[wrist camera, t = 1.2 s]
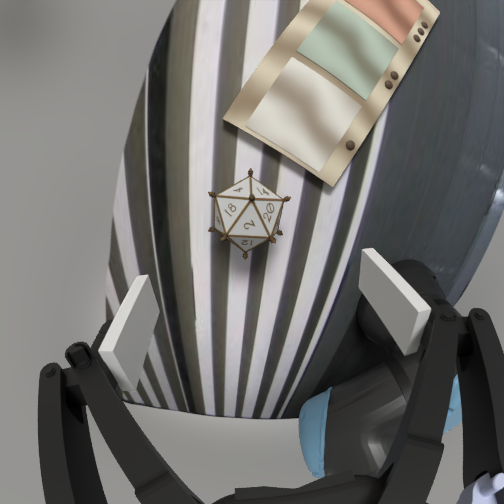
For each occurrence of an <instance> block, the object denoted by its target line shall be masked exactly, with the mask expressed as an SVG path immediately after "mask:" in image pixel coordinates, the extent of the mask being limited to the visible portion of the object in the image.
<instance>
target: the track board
mask: <svg viewBox="0 0 504 504" xmlns="http://www.w3.org/2000/svg"><path fill="white" fill-rule="evenodd" d="M439 13H440V12H439V11H438V10H437V9H436V8H435V7H434V6H433V5H432V4H431V3H430V2H429V1H428V0H309V2H308V3H307V4H306V5H305V6H304V7H303V9H302V10H301V11H300V12H299V13H298V14H297V16H296V17H295V18H294V19H293V21H292V22H291V23H290V24H289V26H288V27H287V28H286V29H285V31H284V32H283V33H282V34H281V36H280V37H279V38H278V40H277V41H276V42H275V43H274V45H273V46H272V47H271V49H270V50H269V51H268V53H267V54H266V56H265V57H264V58H263V60H262V61H261V62H260V64H259V65H258V67H257V68H256V69H255V71H254V72H253V74H252V75H251V77H250V78H249V79H248V81H247V82H246V84H245V85H244V87H243V88H242V90H241V91H240V93H239V94H238V96H237V97H236V99H235V100H234V102H233V103H232V105H231V107H230V108H229V110H228V111H227V113H226V114H225V116H224V118H223V119H224V120H225V121H227V122H229V123H231V124H233V125H235V126H236V127H238V128H240V129H242V130H243V131H245V132H247V133H249V134H250V135H252V136H254V137H255V138H257V139H259V140H261V141H262V142H264V143H266V144H267V145H269V146H271V147H272V148H274V149H275V150H277V151H279V152H280V153H282V154H283V155H285V156H287V157H288V158H290V159H291V160H293V161H294V162H296V163H297V164H299V165H301V166H302V167H304V168H305V169H307V170H308V171H310V172H311V173H313V174H314V175H315V176H317V177H318V178H320V179H321V180H323V181H324V182H326V183H327V184H328V185H330V186H332V187H334V185H335V184H336V182H337V180H338V179H339V177H340V176H341V174H342V173H343V171H344V170H345V168H346V167H347V165H348V164H349V162H350V161H351V159H352V158H353V156H354V155H355V153H356V151H357V150H358V148H359V147H360V145H361V144H362V142H363V141H364V139H365V137H366V136H367V134H368V133H369V131H370V130H371V128H372V126H373V125H374V123H375V122H376V120H377V118H378V117H379V115H380V114H381V112H382V110H383V109H384V107H385V106H386V104H387V102H388V101H389V99H390V97H391V96H392V94H393V93H394V91H395V89H396V88H397V86H398V84H399V83H400V81H401V79H402V78H403V76H404V74H405V73H406V71H407V69H408V68H409V66H410V64H411V63H412V61H413V59H414V57H415V56H416V54H417V52H418V51H419V49H420V47H421V45H422V44H423V42H424V40H425V38H426V37H427V35H428V33H429V31H430V30H431V28H432V26H433V24H434V22H435V21H436V19H437V17H438V15H439Z"/></svg>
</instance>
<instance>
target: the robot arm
mask: <svg viewBox="0 0 504 504" xmlns="http://www.w3.org/2000/svg"><path fill="white" fill-rule="evenodd" d="M359 289H360V290H361V291H362V293H363V294H362V296H361V298H360V301H359V304H358V309H357V319H358V323H359V325H360V327H361V329H362V330H363V332H364V334H365V335H366V336H367V337H368V338H369V339H370V340H371V341H373V342H374V343H376V344H378V345H379V346H380V347H381V348H383V349H384V350H385V351H387V352H388V353H389V354H390V356H391V357H390V358H389V359H387V360H385V361H383V362H381V363H379V364H378V365H376V366H374V367H372V368H370V369H368V370H367V371H365V372H363V373H361V374H359V375H357V376H355V377H353V378H351V379H349V380H347V381H345V382H343V383H341V384H339V385H337V386H335V387H330V388H328V390H327V391H325V392H323V393H321V394H319V395H317V396H315V397H313V398H311V399H309V400H307V401H306V402H305V403H304V405H303V406H302V408H301V411H300V415H299V437H300V443H301V448H302V453H303V456H304V459H305V462H306V465H307V467H308V469H309V471H310V472H312V475H313V476H314V477H316V478H320V479H318V480H316V481H314V482H311V483H309V484H306V485H304V486H302V487H300V488H295V489H290V488H277V487H266V486H262V487H250V488H235V494H232V495H228V496H226V497H223V498H221V499H219V500H217V501H216V502H214V503H213V504H428V503H426V500H427V497H428V495H429V492H430V490H431V487H432V484H433V481H434V479H435V476H436V473H437V470H438V467H439V464H440V461H441V457H442V454H443V450H444V444H443V443H441V440H442V435H443V434H444V433H445V432H446V431H449V430H451V429H452V428H454V427H455V426H456V425H458V424H459V423H460V422H462V424H463V484H464V490H463V491H462V493H461V495H460V498H459V500H458V502H457V504H504V353H503V350H502V347H501V344H500V341H499V339H498V336H497V333H496V331H495V328H494V325H493V323H492V320H491V318H490V316H489V314H488V313H487V312H486V311H485V310H483V309H480V308H473V309H471V311H470V312H469V315H468V317H462V316H461V314H459V312H458V311H457V310H456V309H455V308H454V307H453V306H452V305H451V304H450V303H449V302H448V301H447V300H446V298H445V295H444V293H443V291H442V289H441V287H440V286H439V282H438V280H437V278H436V276H435V274H434V273H433V272H432V271H431V270H430V269H429V268H428V267H427V266H426V265H424V264H423V263H421V262H419V261H416V260H404V261H400V262H397V263H394V264H392V265H390V264H389V263H388V262H387V261H386V260H385V259H384V258H382V257H381V256H380V255H379V254H378V253H377V252H376V251H375V250H374V249H373V248H368V249H362V256H361V267H360V278H359ZM159 312H160V311H159V308H158V304H157V301H156V298H155V295H154V292H153V289H152V286H151V282H150V279H149V276H148V275H141V276H137V277H136V279H135V281H134V282H133V284H132V286H131V288H130V290H129V291H128V293H127V295H126V297H125V299H124V301H123V303H122V304H121V306H120V308H119V310H118V312H117V314H116V316H115V318H114V320H108V321H107V322H106V323H105V324H103V325H102V327H101V329H100V331H99V334H97V336H96V339H95V341H94V342H93V344H92V346H91V348H90V347H89V346H88V344H87V343H85V342H77V343H74V344H72V345H71V346H70V347H69V348H68V349H67V350H66V352H65V358H66V359H67V361H68V362H69V364H70V365H71V367H70V368H66V369H62V368H61V367H60V365H58V363H49V364H47V365H46V366H44V367H43V369H42V370H41V372H40V378H39V393H38V394H39V395H38V442H39V443H38V444H39V458H40V468H41V477H42V483H43V489H44V496H45V501H46V504H108V503H107V500H106V497H105V494H104V491H103V487H102V484H101V481H100V477H99V473H98V469H97V465H96V461H95V457H94V452H93V447H92V443H91V438H90V432H89V426H88V420H87V414H86V406H85V405H88V407H89V409H90V411H91V413H92V416H93V417H94V420H95V422H96V424H97V426H98V428H99V430H100V432H101V434H102V435H103V437H104V439H105V441H106V443H107V445H108V446H109V448H110V450H111V452H112V454H113V455H114V457H115V459H116V460H117V462H118V464H119V465H120V467H121V468H122V470H123V472H124V473H125V475H126V476H127V478H128V479H129V481H130V482H131V484H132V485H133V487H134V488H135V495H136V497H137V498H138V500H139V501H140V503H141V504H204V503H203V502H202V501H201V500H200V499H199V498H198V497H197V496H196V495H195V494H194V493H193V492H192V491H191V490H190V489H189V488H188V487H187V486H186V485H185V484H184V482H183V481H182V480H181V479H180V478H179V477H178V476H177V474H176V473H175V472H174V471H173V470H172V469H171V467H170V466H169V465H168V464H167V463H166V461H165V460H164V459H163V458H162V457H161V455H160V454H159V453H158V451H157V450H156V449H155V447H154V446H153V445H152V444H151V442H150V441H149V439H148V438H147V437H146V435H145V434H144V433H143V431H142V430H141V428H140V427H139V425H138V424H137V423H136V421H135V420H134V418H133V417H132V415H131V414H130V412H129V410H128V409H127V407H126V406H125V404H124V403H123V401H122V399H121V398H120V396H119V394H118V393H117V391H116V390H115V389H116V386H117V384H118V385H119V387H120V388H121V390H122V391H136V388H137V384H138V381H139V377H140V374H141V370H142V367H143V363H144V360H145V356H146V353H147V350H148V347H149V343H150V340H151V337H152V334H153V331H154V328H155V324H156V321H157V318H158V315H159Z"/></svg>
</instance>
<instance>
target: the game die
mask: <svg viewBox="0 0 504 504" xmlns="http://www.w3.org/2000/svg"><path fill="white" fill-rule="evenodd" d="M252 174H253V171H252V169H251V168H250V170H249V171H248V175H249V176H248V177H247V178H245V179H243V180H241V181H239V182H238V183H236V184H234V185H232V186H231V187H229V188H227V189H225V190H224V191H222V192H220V193H218V194H217V195H216V194H215V193H213V192H208V193H209V195H210V196H211V197H214V198H215V209H214V227H211V228H210V229H209V230H208V231H209V232H213V231H214V230H216V231H218V232H219V233H220V234H221V235H223V236H222V237H221V241H226V239H228V240H229V241H230V242H232V243H233V244H234V245H236V246H237V247H238V248H240V249H241V250H242V251H243V252H244V254H243V258H244V259H246V258H247V257H248V256H247V255H248V254H247V252H248V251H250V250H252V249H253V248H255V247H257V246H259V245H260V244H262V243H264V242H266V241H267V240H269V239H270V241H271V243H276V239H275V238H274V237H273V236H274V235H275V234H276V233H277V234H278V235H283V234H282V231H280V230H278V228H279V223H280V218H281V214H282V209H283V204H284V202H287V201H289V200H290V198H291V197H288V196H287V197H285V198H284V199H282V198H281V197H279V196H278V195H277V194H275V193H274V192H273V191H271V190H270V189H269V188H267V187H266V186H264V185H263V184H262V183H260V182H259V181H257V180H256V179H255V178H253V177H252Z"/></svg>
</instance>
